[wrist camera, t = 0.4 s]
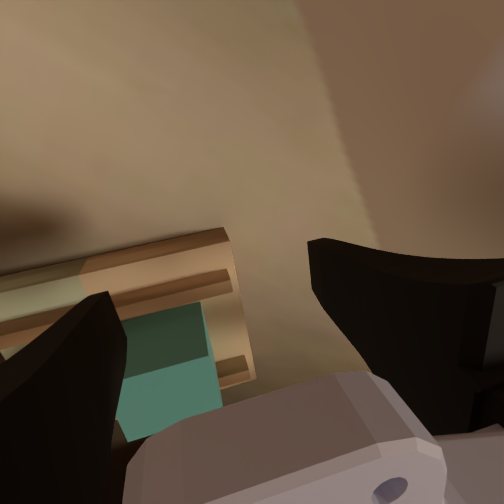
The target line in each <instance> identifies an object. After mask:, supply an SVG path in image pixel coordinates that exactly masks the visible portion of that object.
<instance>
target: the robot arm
mask: <svg viewBox="0 0 504 504" xmlns="http://www.w3.org/2000/svg"><path fill="white" fill-rule="evenodd" d="M307 244H308V254H309V265H310V275H311V285H312V290H313V292H314V294H315V295H316V297H317V299H318V301H319V302H320V304H321V306H322V307H323V309H324V310H325V311H326V313H327V314H328V315H329V316H330V318H331V319H332V320H333V321H334V323H335V324H336V325H337V326H338V328H339V329H340V330H341V331H342V333H343V334H344V335H345V336H346V337H347V339H348V340H349V341H350V342H351V344H352V345H353V346H354V347H355V349H356V350H357V351H358V352H359V354H360V355H361V356H362V358H363V359H364V361H365V362H366V364H367V365H368V367H369V368H370V370H371V371H372V373H373V374H372V373H370V372H368V371H366V370H364V371H353V372H342V373H332V374H328V375H324V376H321V377H318V378H315V379H311V380H308V381H305V382H302V383H299V384H295V385H292V386H289V387H286V388H282V389H279V390H276V391H273V392H269V393H266V394H263V395H260V396H257V397H253V398H250V399H247V400H244V401H240V402H237V403H234V404H231V405H227V406H224V407H221V408H218V409H215V410H211V411H208V412H205V413H202V414H198V415H195V416H192V417H189V418H185V419H182V420H181V421H179V422H177V423H175V424H173V425H171V426H169V427H167V428H165V429H164V430H162V431H160V432H158V433H156V434H154V435H152V436H151V437H149V438H147V439H146V440H145V441H144V443H143V444H142V445H141V447H140V448H139V450H138V451H137V452H136V454H135V455H134V456H133V458H132V459H131V460H130V462H129V463H128V465H127V470H126V478H125V485H124V493H123V501H122V504H504V258H501V259H446V258H429V257H420V256H411V255H404V254H397V253H392V252H386V251H381V250H376V249H372V248H367V247H363V246H359V245H355V244H351V243H347V242H343V241H339V240H334V239H329V238H320V239H316V240H312V241H308V242H307ZM126 360H127V336H126V334H125V331H124V329H123V326H122V324H121V321H120V319H119V316H118V314H117V311H116V309H115V306H114V304H113V302H112V299H111V297H110V294H109V292H108V291H104V292H100V293H96V294H92V295H89V296H87V297H86V298H84V299H83V300H82V301H80V302H79V303H78V304H76V305H75V306H74V307H73V308H72V309H70V310H69V311H68V312H67V313H66V314H64V315H63V316H62V317H61V318H60V319H59V320H57V321H56V322H55V323H54V324H53V325H51V326H50V327H49V328H48V329H47V330H45V331H44V332H43V333H41V334H40V335H39V336H38V337H36V338H35V339H34V340H33V341H31V342H30V343H29V344H27V345H26V346H25V347H24V348H22V349H21V350H20V351H18V352H17V353H16V354H14V355H13V356H11V357H10V358H8V359H7V360H6V361H4V362H3V363H1V364H0V504H107V491H108V476H109V463H110V452H111V441H112V434H113V428H114V422H115V417H116V412H117V407H118V402H119V398H120V393H121V388H122V383H123V378H124V373H125V368H126Z"/></svg>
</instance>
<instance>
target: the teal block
mask: <svg viewBox="0 0 504 504" xmlns="http://www.w3.org/2000/svg"><path fill="white" fill-rule="evenodd" d="M121 324H122V326H123V329H124V331H125V334H126V336H127V360H126V368H125V373H124V378H123V383H122V388H121V393H120V398H119V402H118V407H117V412H116V417H117V420H118V422H119V424H120V426H121V428H122V430H123V432H124V434H125V436H126V439H127V441H128V442H130V441H133V440H137V439H140V438H143V437H147V436H150V435H153V434H156V433H158V432H160V431H162V430H164V429H165V428H167V427H169V426H171V425H173V424H175V423H177V422H179V421H181V420H182V419H185V418H189V417H192V416H195V415H198V414H202V413H205V412H208V411H211V410H215V409H218V408H221V407H223V405H222V399H221V393H220V387H219V382H218V376H217V370H216V365H215V359H214V353H213V349H212V345H211V341H210V337H209V333H208V329H207V325H206V321H205V318H204V314H203V310H202V306H201V302H196V303H192V304H188V305H184V306H180V307H176V308H172V309H168V310H164V311H160V312H156V313H152V314H148V315H144V316H140V317H136V318H132V319H128V320H124V321H121Z"/></svg>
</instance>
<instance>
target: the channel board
mask: <svg viewBox="0 0 504 504" xmlns="http://www.w3.org/2000/svg"><path fill="white" fill-rule="evenodd" d="M104 291H108V292H109V294H110V297H111V299H112V302H113V304H114V306H115V309H116V311H117V314H118V316H119V319H120V321H124V320H128V319H132V318H136V317H140V316H144V315H148V314H152V313H156V312H160V311H164V310H168V309H172V308H176V307H180V306H184V305H188V304H192V303H196V302H201V306H202V310H203V314H204V318H205V321H206V325H207V329H208V333H209V337H210V341H211V345H212V349H213V353H214V359H215V365H216V370H217V376H218V382H219V387H220V389H223V388H227V387H230V386H234V385H237V384H241V383H244V382H247V381H251V380H254V379H256V374H255V369H254V364H253V358H252V353H251V348H250V343H249V338H248V333H247V327H246V322H245V317H244V312H243V307H242V301H241V296H240V291H239V286H238V281H237V276H236V270H235V265H234V260H233V255H232V250H231V245H230V240H229V238H228V236H227V234H226V231H225V229H224V227H223V228H218V229H214V230H209V231H205V232H200V233H196V234H191V235H187V236H182V237H177V238H173V239H168V240H164V241H159V242H155V243H150V244H146V245H141V246H137V247H132V248H127V249H123V250H118V251H114V252H109V253H105V254H100V255H96V256H91V257H86V258H82V259H77V260H73V261H68V262H64V263H59V264H55V265H50V266H45V267H41V268H36V269H32V270H27V271H23V272H18V273H14V274H9V275H5V276H0V364H1V363H3V362H4V361H6V360H7V359H8V358H10V357H11V356H13V355H14V354H16V353H17V352H18V351H20V350H21V349H22V348H24V347H25V346H26V345H27V344H29V343H30V342H31V341H33V340H34V339H35V338H36V337H38V336H39V335H40V334H41V333H43V332H44V331H45V330H47V329H48V328H49V327H50V326H51V325H53V324H54V323H55V322H56V321H57V320H59V319H60V318H61V317H62V316H63V315H64V314H66V313H67V312H68V311H69V310H70V309H72V308H73V307H74V306H75V305H76V304H78V303H79V302H80V301H82V300H83V299H84V298H86V297H87V296H89V295H92V294H96V293H100V292H104ZM115 420H117V417H115Z"/></svg>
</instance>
